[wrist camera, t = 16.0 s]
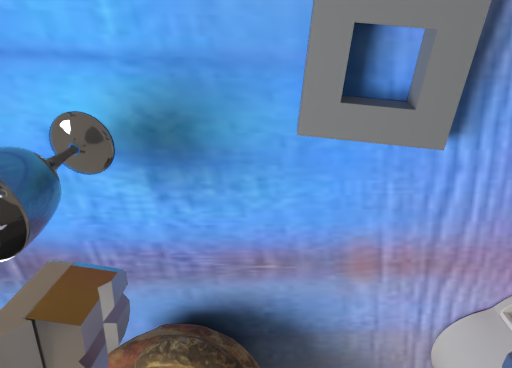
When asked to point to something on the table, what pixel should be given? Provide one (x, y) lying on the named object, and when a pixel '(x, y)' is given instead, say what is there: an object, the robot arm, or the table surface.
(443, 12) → the holder block
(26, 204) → the wine glass
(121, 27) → the table surface
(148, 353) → the ceramic vessel
